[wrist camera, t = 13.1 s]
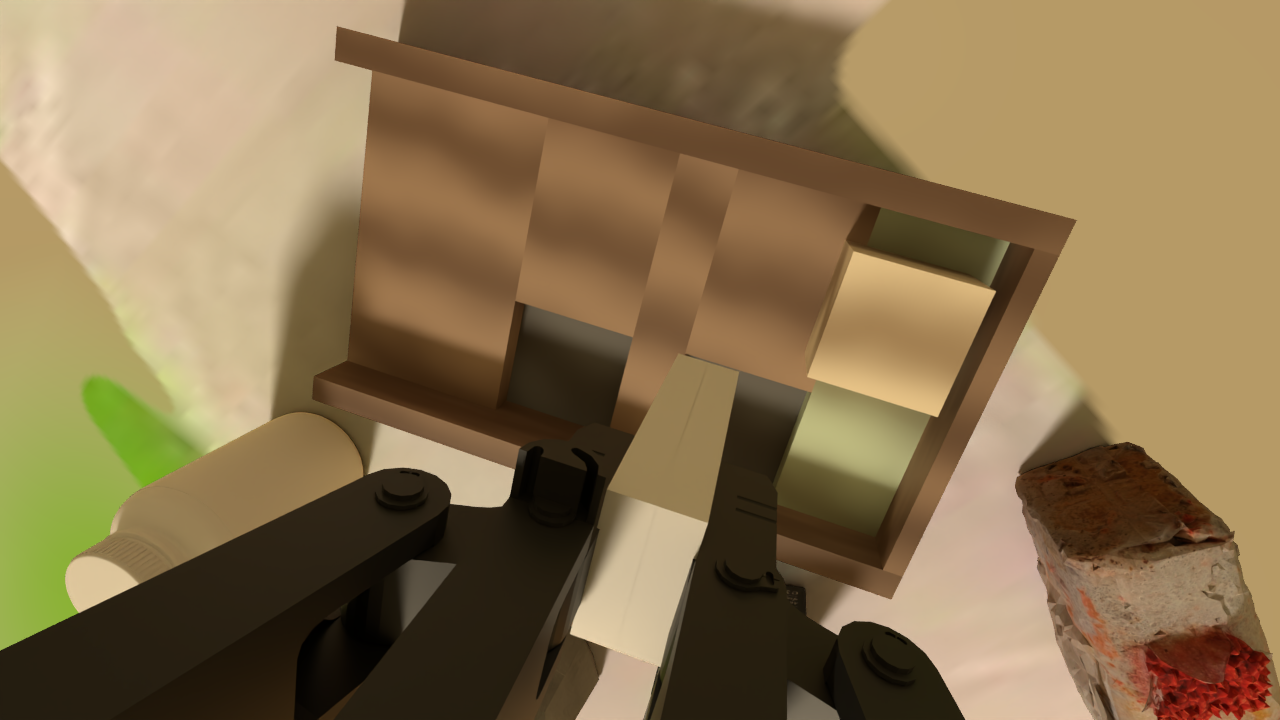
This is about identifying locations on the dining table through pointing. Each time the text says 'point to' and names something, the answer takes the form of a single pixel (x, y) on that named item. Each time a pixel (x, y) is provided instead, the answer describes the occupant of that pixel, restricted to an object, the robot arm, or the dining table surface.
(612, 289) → the divided wooden tray
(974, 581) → the dining table surface
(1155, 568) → the food item
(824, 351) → the block
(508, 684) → the robot arm
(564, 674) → the coffeepot
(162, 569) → the pill bottle
